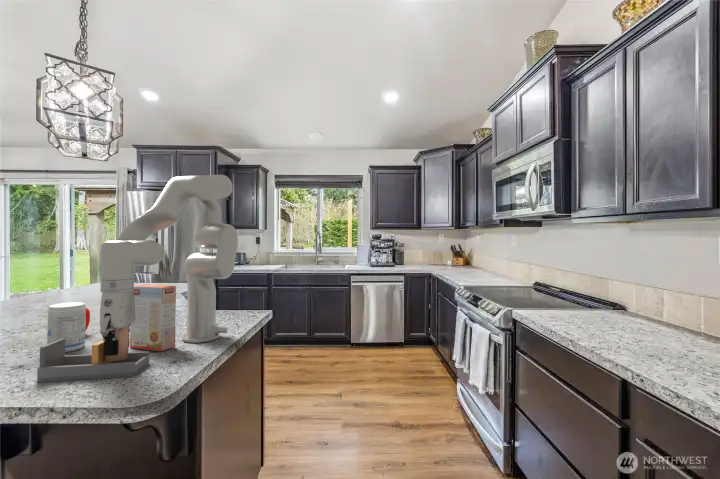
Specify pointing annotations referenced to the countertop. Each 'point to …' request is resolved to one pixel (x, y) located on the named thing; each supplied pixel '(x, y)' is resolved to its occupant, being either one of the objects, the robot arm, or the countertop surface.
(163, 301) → the cracker box
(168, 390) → the countertop surface
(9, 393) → the countertop surface
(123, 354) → the terracotta jar
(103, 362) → the lane pusher
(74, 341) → the supplement tub
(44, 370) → the pusher lane
